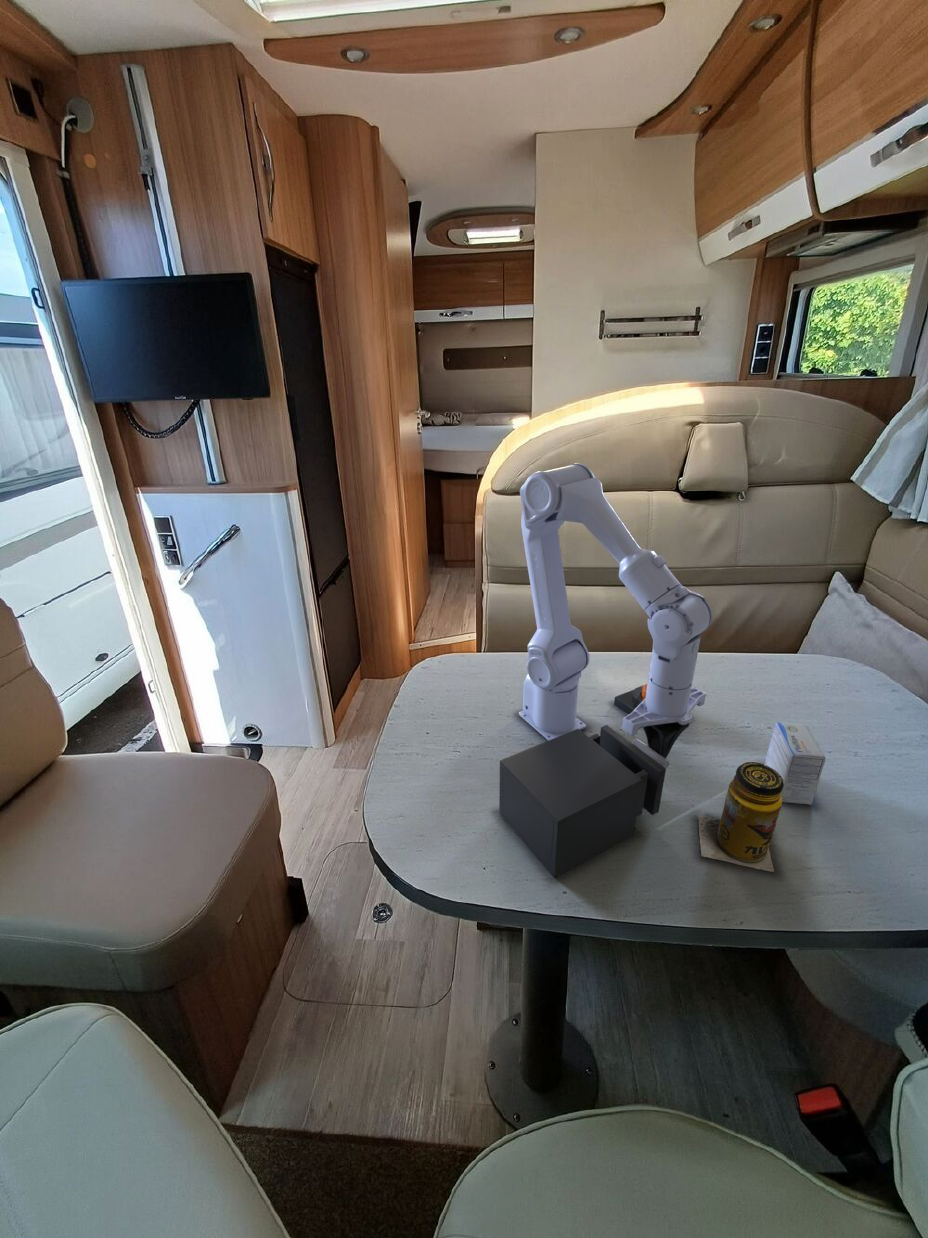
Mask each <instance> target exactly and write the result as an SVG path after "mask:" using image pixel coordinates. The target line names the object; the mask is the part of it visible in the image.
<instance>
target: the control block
mask: <svg viewBox="0 0 928 1238" xmlns="http://www.w3.org/2000/svg"><path fill="white" fill-rule="evenodd" d="M644 685H645V684H644ZM644 685H643V684H642V685H640V686H637V687H635V688H634V689H631V690H629V691H626V692H624V693H622V694H621V693H620V694H618V695H615V697H614V701H613V705H614V706H616V707H617V708H619V709H620V710H621V711H623V712H624V713H626V714H627V715H629V714H631V713H632V712H633V711H634V709H635V708H636V707H637V706H638V705H639V704H640V703H641V702H642V701H643V700H644V698H642V689H643V686H644Z"/></svg>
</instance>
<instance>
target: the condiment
mask: <svg viewBox="0 0 928 1238" xmlns="http://www.w3.org/2000/svg"><path fill="white" fill-rule="evenodd" d="M735 770H736V771H735V775H734V776H733V779H732V780H731V781H730V783H729V784H728V788H727V792H726V796H725V800H724V805H723V809H722V812H721V816H720V817H721V818H717V817H711V816H709V815H704V814H697V818H698V819H697V821H698V833H699V845H700V846H699V847H700V855H701V857H703V858H709V859H713V860H719V861H722V862H728V863H732V864H736V865H739V866H743V867H749V868H752V869H756V870H762V871H766V872H771V873H772V872H775V869H774V865H773V861H772V857H771V852H770V844H771V843H772V838H773V835H774V832H775V828H776V826H777V821H778V818H779V815H780V812H781V809H782V804H783V802H782V798H781V793H782V789H783V787H784V783H783V779H782V777H781V776H780V775H779V773H778V772H777V771H775V770H774V769H772V768H771V767H769V766H767V765H765V763H760V762H757V761H756V762H755V761H747V762H744V763H742V764H740V765H739V766H738V767H737V768H736V769H735Z"/></svg>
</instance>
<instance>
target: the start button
mask: <svg viewBox="0 0 928 1238" xmlns="http://www.w3.org/2000/svg"><path fill="white" fill-rule="evenodd" d="M647 685H648V683H645V684H644V686H643V689H642V698H644V699H645V698H646V692H647Z"/></svg>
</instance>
